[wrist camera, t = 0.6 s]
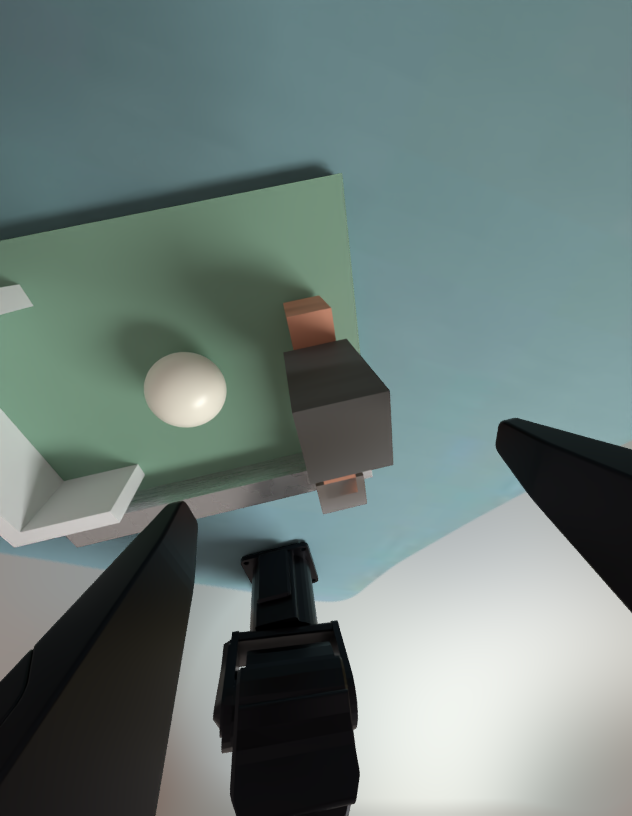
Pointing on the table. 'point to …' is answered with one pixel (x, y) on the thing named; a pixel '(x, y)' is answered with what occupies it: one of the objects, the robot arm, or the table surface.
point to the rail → (210, 495)
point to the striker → (335, 406)
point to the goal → (52, 481)
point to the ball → (185, 389)
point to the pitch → (170, 327)
